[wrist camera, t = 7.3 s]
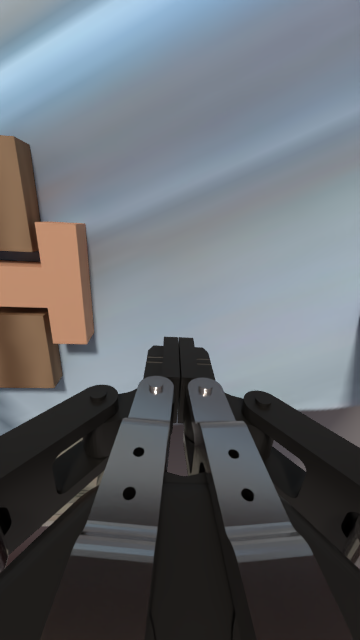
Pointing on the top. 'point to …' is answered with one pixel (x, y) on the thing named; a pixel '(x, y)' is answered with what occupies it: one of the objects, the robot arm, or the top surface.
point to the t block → (54, 281)
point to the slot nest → (20, 235)
